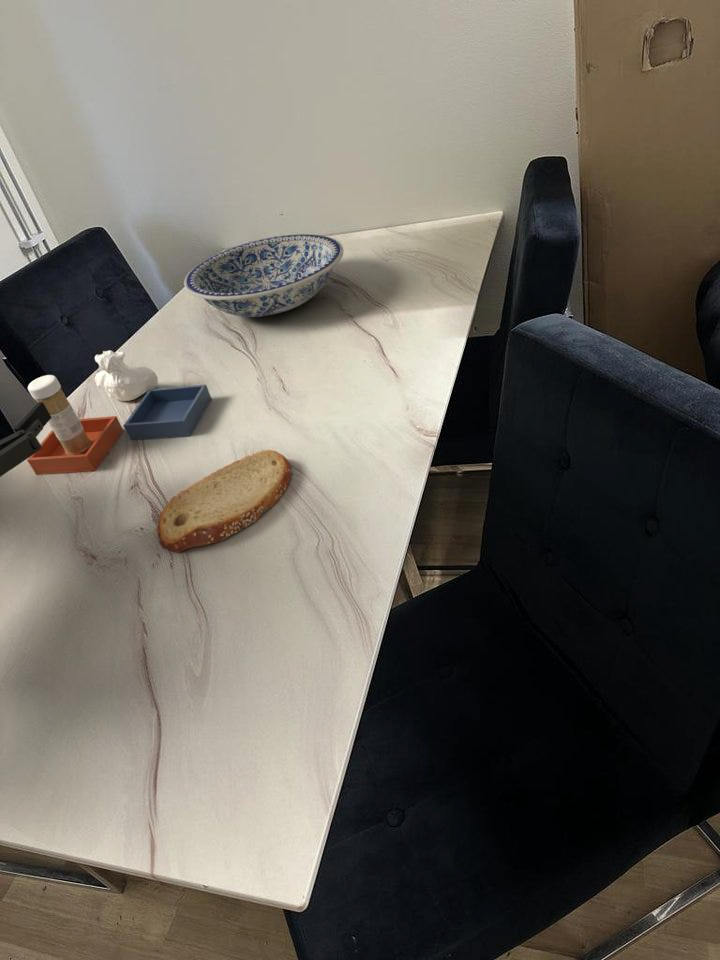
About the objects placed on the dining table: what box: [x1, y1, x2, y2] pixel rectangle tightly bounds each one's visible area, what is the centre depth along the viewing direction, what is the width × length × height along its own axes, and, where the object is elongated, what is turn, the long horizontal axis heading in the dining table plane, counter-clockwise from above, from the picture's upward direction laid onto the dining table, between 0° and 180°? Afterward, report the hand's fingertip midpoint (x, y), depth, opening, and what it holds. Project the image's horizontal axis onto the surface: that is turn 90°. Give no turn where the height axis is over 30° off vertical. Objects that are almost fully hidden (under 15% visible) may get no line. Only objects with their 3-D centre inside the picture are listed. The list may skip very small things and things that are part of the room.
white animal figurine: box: [94, 350, 159, 402], centre depth 122 cm, size 12×8×11 cm
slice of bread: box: [156, 449, 293, 553], centre depth 93 cm, size 18×18×4 cm
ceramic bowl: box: [183, 233, 345, 318], centre depth 143 cm, size 34×34×10 cm
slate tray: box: [122, 384, 212, 441], centre depth 115 cm, size 11×11×3 cm
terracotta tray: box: [26, 415, 125, 475], centre depth 112 cm, size 11×11×3 cm
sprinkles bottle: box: [27, 374, 92, 455], centre depth 109 cm, size 5×5×13 cm
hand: (4, 412), depth 97 cm, fingers open, 13 cm apart
